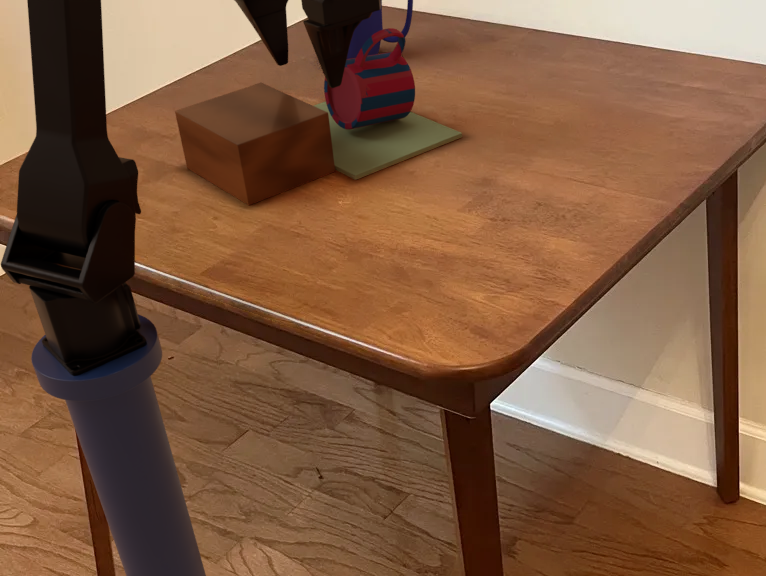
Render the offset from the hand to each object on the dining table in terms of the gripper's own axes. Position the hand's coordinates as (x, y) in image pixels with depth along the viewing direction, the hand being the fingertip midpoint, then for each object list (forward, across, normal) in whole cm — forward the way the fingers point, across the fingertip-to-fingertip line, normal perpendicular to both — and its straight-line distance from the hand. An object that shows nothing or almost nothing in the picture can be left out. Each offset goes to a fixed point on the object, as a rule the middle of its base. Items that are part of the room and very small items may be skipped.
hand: (308, 75), depth 100 cm
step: (+8, 0, +7) cm, 10 cm away
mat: (+8, 0, -5) cm, 9 cm away
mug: (+8, +18, -20) cm, 28 cm away
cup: (+1, -1, -3) cm, 4 cm away
